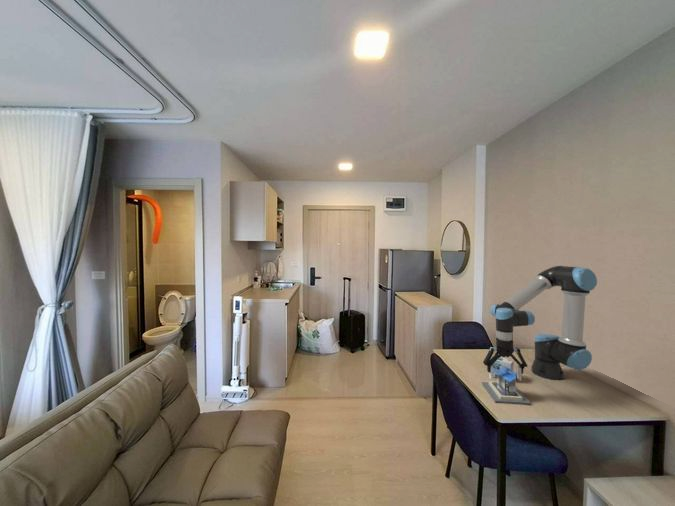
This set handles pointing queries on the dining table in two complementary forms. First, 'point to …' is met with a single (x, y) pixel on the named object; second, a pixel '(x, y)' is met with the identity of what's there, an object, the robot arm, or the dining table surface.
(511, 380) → the label tape cartridge
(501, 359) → the light bulb box
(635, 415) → the dining table surface
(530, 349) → the dining table surface
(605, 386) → the dining table surface
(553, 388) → the dining table surface
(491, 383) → the grey platform
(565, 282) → the robot arm
